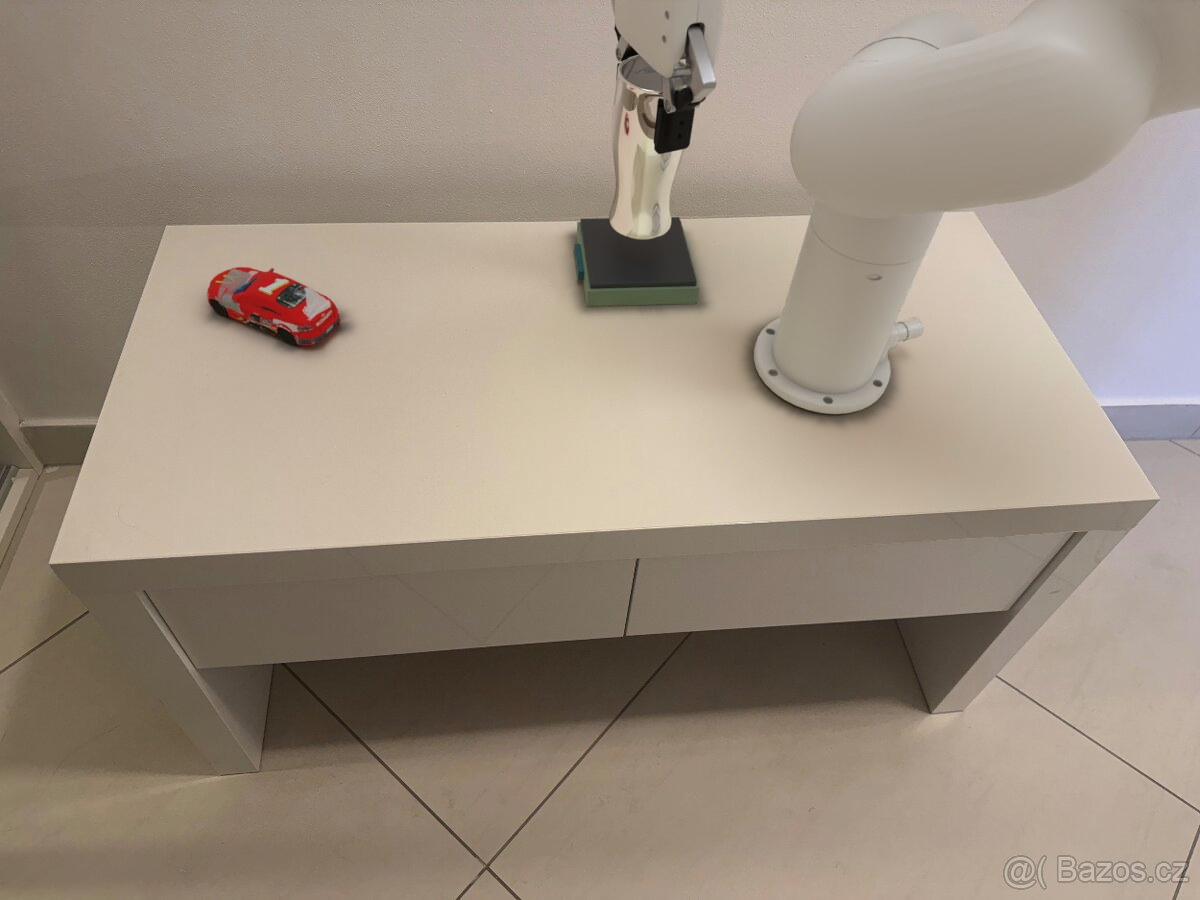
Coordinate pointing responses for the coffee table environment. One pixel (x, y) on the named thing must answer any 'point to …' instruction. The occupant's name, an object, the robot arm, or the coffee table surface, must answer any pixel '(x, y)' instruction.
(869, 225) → the robot arm
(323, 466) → the coffee table surface
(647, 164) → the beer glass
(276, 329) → the race car
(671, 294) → the scale
